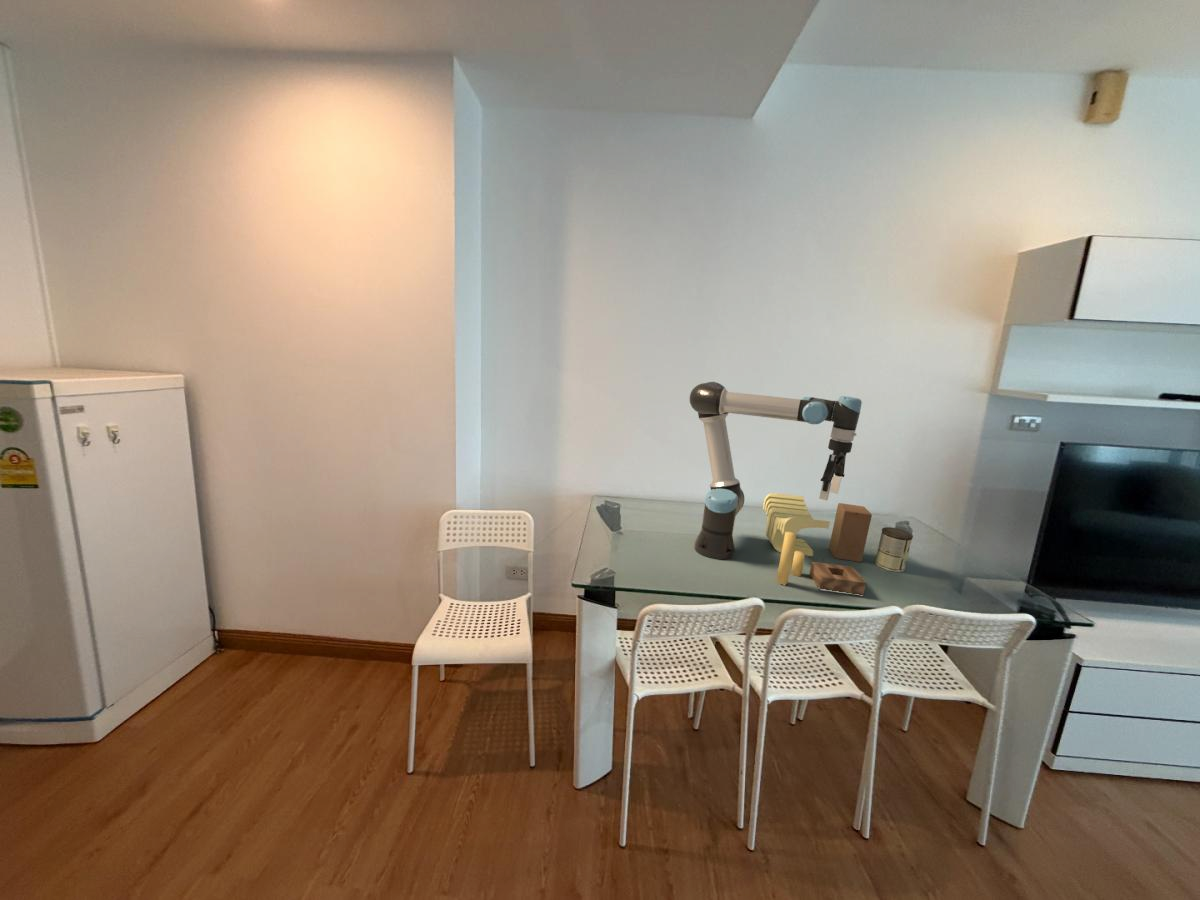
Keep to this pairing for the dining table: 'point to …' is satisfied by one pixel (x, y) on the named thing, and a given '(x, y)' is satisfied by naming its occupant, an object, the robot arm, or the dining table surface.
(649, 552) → the dining table surface
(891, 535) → the coffee can
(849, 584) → the hole block
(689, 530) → the dining table surface
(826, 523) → the slatted curved stool
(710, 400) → the robot arm
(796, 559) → the short pin
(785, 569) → the long pin
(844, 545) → the wooden block
